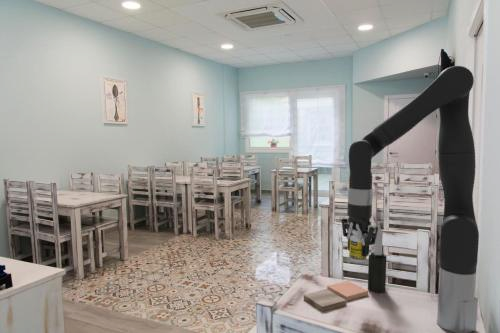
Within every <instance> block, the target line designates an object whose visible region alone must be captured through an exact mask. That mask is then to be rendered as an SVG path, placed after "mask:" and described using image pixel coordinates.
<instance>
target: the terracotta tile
mask: <svg viewBox="0 0 500 333" xmlns="http://www.w3.org/2000/svg"><path fill="white" fill-rule="evenodd" d="M326 289H328V290H329V291H331V292H333V293H335V294H336V295H338V296H340V297H342V298H343V299H345V300H346V302H347V301H352V300H355V299H359V298H362V297H365V296H369V290H368V289H366V288H364V287H362V286H359V285H357V284H356V283H354V282H352V281H350V280H345V281H343V282H337V283H333V284H329V285H327V287H326Z"/></svg>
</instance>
